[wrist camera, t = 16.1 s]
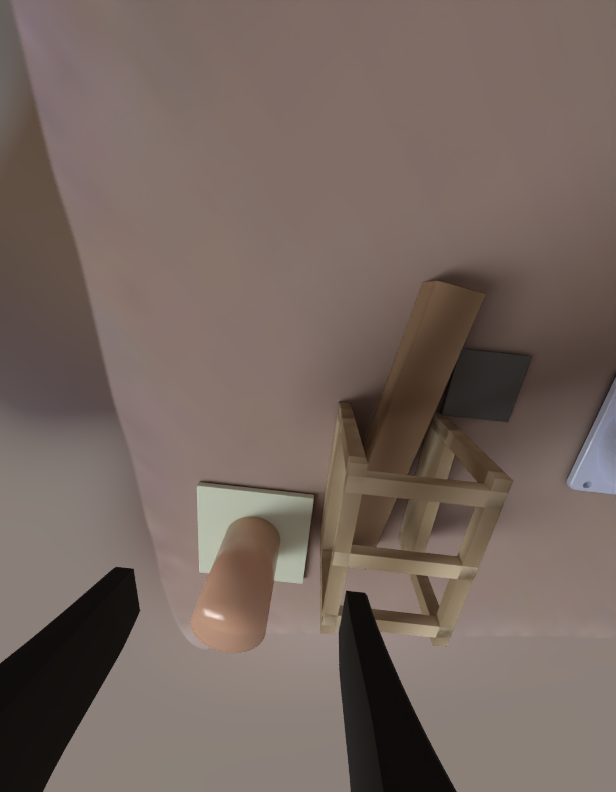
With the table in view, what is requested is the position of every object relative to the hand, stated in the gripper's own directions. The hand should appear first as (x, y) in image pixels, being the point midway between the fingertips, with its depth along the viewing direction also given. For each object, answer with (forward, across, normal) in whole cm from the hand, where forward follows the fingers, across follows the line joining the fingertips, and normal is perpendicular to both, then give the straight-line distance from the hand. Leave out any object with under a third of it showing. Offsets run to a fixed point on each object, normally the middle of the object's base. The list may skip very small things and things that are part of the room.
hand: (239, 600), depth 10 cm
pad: (+10, +2, +7) cm, 12 cm away
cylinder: (+9, +2, +7) cm, 12 cm away
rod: (+10, -7, -2) cm, 12 cm away
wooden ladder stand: (+10, -7, +1) cm, 12 cm away
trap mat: (+10, -12, -6) cm, 16 cm away
